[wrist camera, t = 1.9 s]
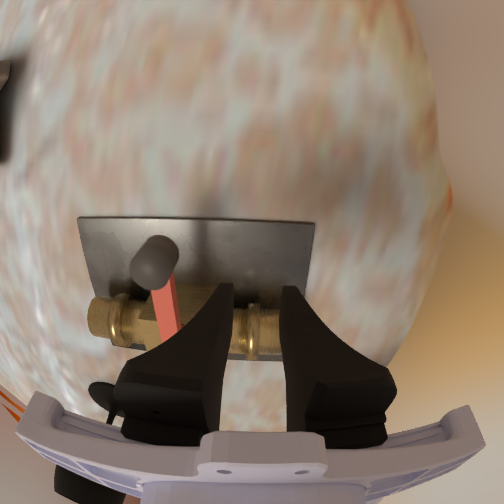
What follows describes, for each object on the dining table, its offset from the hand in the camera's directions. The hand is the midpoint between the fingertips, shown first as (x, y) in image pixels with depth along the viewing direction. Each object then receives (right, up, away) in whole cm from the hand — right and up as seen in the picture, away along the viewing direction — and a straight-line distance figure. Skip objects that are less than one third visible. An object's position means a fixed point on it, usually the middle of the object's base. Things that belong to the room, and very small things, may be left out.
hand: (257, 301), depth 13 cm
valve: (-6, -3, +13) cm, 15 cm away
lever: (-6, -2, +6) cm, 9 cm away
